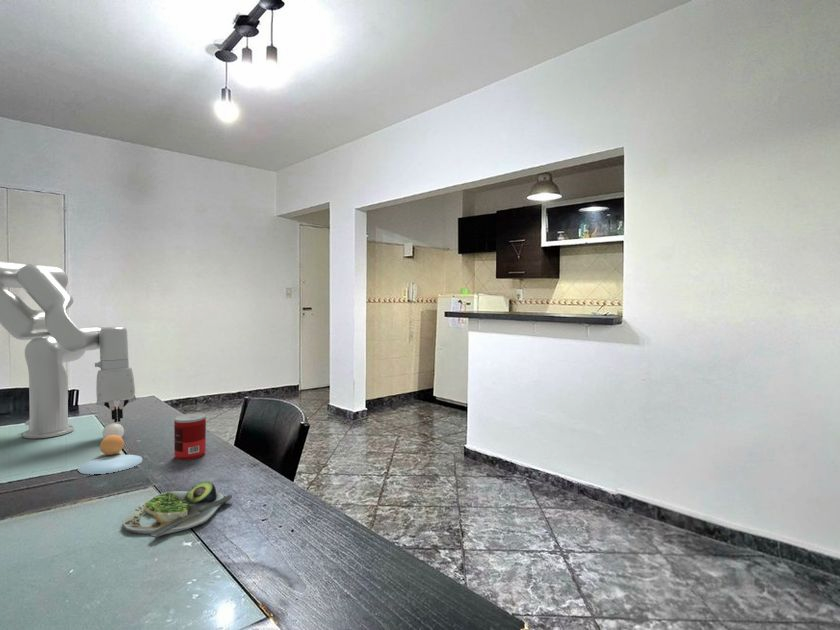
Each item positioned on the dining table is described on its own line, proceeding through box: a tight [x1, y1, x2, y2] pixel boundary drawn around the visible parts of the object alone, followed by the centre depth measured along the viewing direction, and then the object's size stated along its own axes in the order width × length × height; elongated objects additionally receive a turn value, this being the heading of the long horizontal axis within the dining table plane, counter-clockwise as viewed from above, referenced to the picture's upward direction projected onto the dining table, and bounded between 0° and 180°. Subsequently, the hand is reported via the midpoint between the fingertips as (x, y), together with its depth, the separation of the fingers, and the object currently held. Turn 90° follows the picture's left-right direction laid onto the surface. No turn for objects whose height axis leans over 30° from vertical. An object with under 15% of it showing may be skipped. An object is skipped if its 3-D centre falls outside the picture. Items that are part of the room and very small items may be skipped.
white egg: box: [101, 422, 125, 439], centre depth 136 cm, size 6×6×6 cm
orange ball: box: [99, 435, 125, 456], centre depth 125 cm, size 6×6×6 cm
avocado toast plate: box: [121, 481, 233, 538], centre depth 90 cm, size 19×18×5 cm
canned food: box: [173, 412, 207, 461], centre depth 125 cm, size 8×8×11 cm
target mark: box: [77, 454, 143, 476], centre depth 117 cm, size 14×14×1 cm
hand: (117, 421), depth 144 cm, fingers closed
